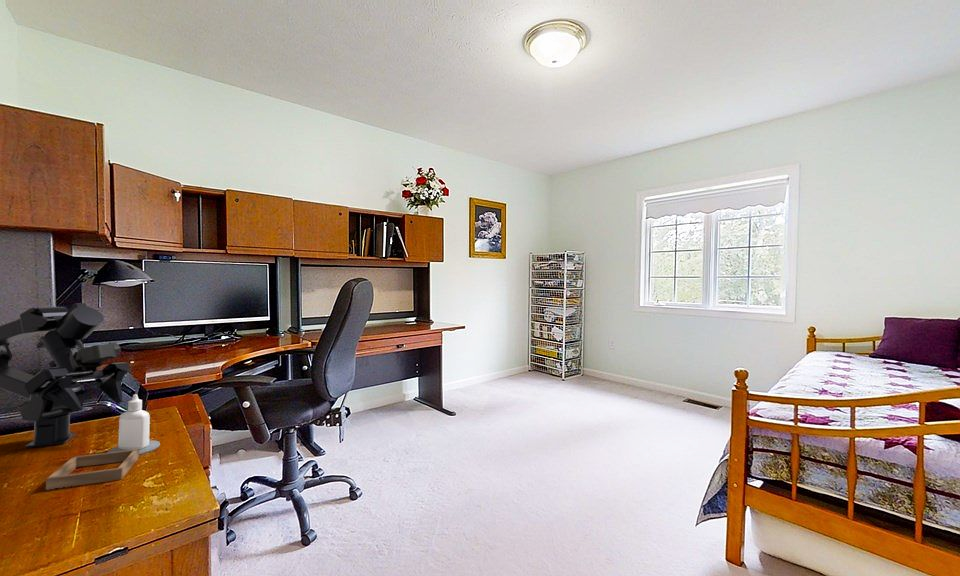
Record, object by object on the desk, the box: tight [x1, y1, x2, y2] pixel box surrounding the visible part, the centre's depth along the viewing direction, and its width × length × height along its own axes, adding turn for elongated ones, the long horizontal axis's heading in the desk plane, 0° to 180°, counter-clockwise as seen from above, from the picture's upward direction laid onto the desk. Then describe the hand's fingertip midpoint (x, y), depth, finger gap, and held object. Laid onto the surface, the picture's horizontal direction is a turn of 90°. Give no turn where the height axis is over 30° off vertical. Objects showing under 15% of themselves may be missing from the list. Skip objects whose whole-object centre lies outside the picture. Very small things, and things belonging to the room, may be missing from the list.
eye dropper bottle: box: [117, 393, 151, 450], centre depth 91 cm, size 4×6×12 cm
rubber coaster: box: [107, 439, 161, 456], centre depth 91 cm, size 9×9×1 cm
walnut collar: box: [45, 449, 140, 491], centre depth 80 cm, size 11×11×2 cm
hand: (100, 406), depth 92 cm, fingers open, 9 cm apart
